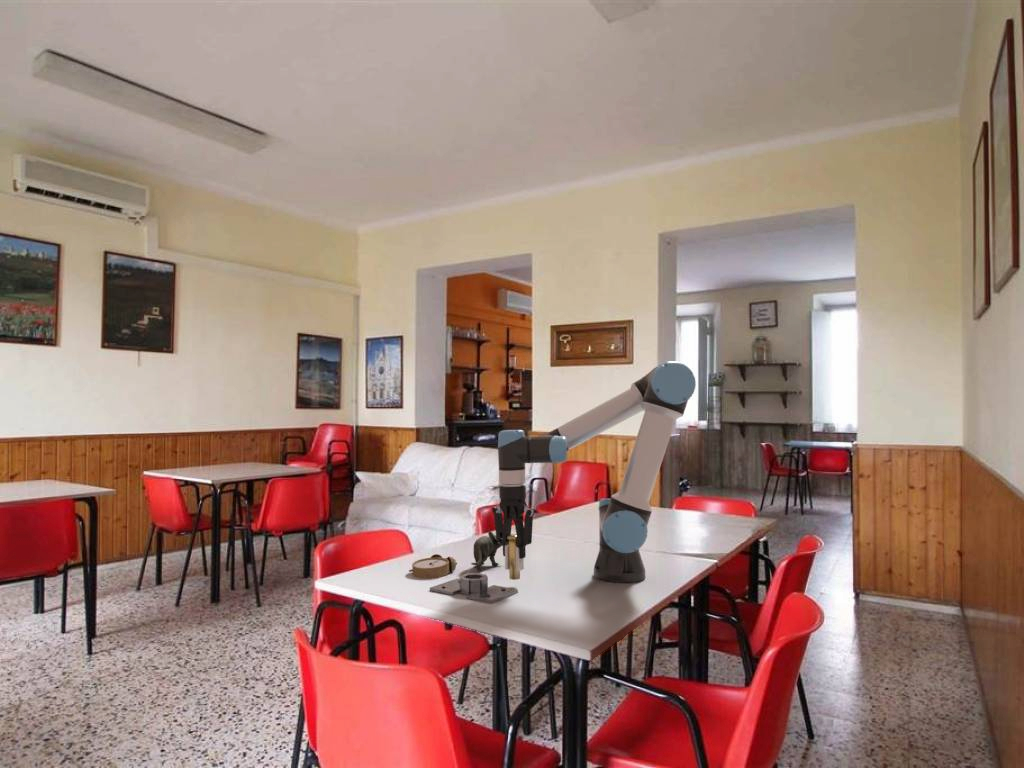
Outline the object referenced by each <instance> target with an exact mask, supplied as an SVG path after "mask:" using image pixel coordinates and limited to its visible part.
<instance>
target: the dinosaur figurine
mask: <svg viewBox="0 0 1024 768" xmlns="http://www.w3.org/2000/svg"><path fill="white" fill-rule="evenodd" d="M501 547H503V545H502V544H501V543H500V542H497V540H496V534H494V533H493V532H492V531H490V530H489V531H488V536H487V535H482V536H481V537H479V538H477V539H476V540H475V541H474V544H473V558H474V561H475V562H471V563H470V564H471V565H472V566H473V568H474V569H476V571H479V572H481V573H482V572H483V569H482V565H485V562H486V561H487V560H488V559H489V561H490V563H491V566H492V567H497V566H499V563H498V562H496V559H495V556H496V554H497V551H498V549H500V548H501Z"/></svg>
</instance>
